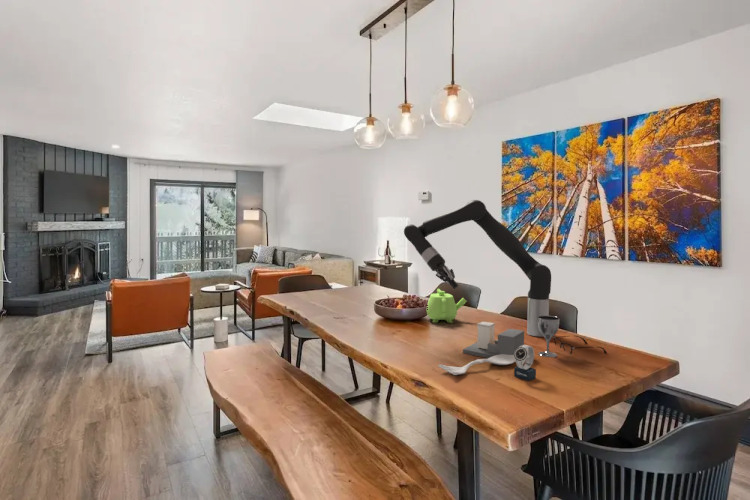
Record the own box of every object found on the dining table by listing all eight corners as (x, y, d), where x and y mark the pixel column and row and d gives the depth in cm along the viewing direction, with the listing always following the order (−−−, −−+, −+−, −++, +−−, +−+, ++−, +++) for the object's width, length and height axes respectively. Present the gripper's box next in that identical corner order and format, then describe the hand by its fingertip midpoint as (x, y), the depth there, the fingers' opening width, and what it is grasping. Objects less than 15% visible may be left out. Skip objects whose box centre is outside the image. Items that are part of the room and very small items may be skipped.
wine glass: (548, 358, 164) (549, 320, 163) (532, 353, 171) (533, 316, 170) (562, 355, 168) (563, 318, 167) (546, 350, 175) (547, 314, 174)
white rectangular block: (477, 347, 174) (477, 323, 173) (482, 344, 178) (482, 321, 177) (489, 349, 170) (489, 325, 170) (494, 346, 174) (494, 323, 174)
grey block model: (462, 352, 172) (463, 329, 172) (478, 344, 184) (479, 322, 183) (511, 363, 160) (511, 338, 159) (525, 353, 172) (525, 330, 171)
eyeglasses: (551, 344, 185) (551, 335, 185) (585, 343, 186) (585, 334, 186) (572, 356, 169) (572, 346, 168) (609, 355, 170) (609, 345, 170)
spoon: (437, 373, 151) (437, 363, 151) (504, 357, 165) (504, 348, 165) (453, 381, 143) (453, 371, 143) (522, 364, 157) (522, 355, 157)
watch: (510, 377, 145) (511, 346, 144) (524, 372, 150) (524, 341, 149) (525, 382, 141) (526, 350, 140) (538, 377, 145) (539, 345, 145)
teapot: (470, 325, 218) (471, 294, 217) (428, 325, 218) (429, 294, 217) (461, 314, 243) (461, 287, 242) (424, 314, 243) (424, 287, 242)
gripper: (430, 254, 191) (454, 283, 184) (445, 252, 201) (468, 280, 194) (420, 265, 194) (443, 294, 187) (435, 263, 205) (458, 290, 198)
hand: (456, 287), depth 191 cm, fingers closed
